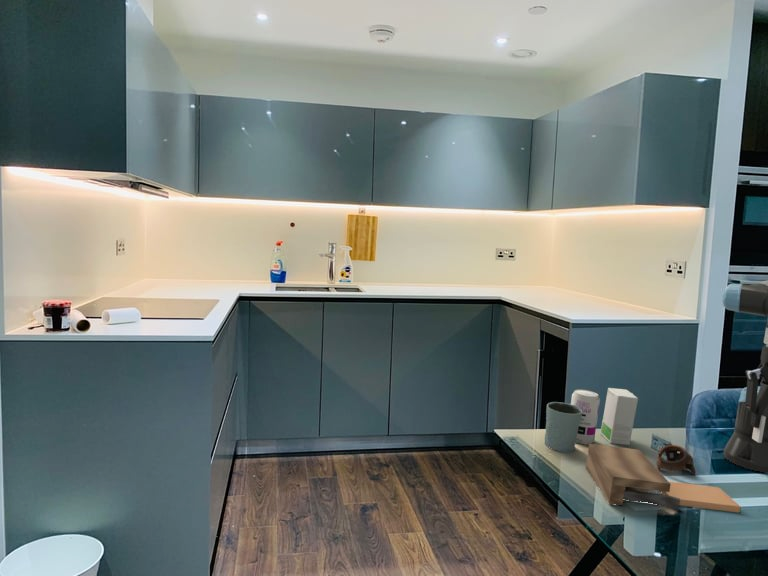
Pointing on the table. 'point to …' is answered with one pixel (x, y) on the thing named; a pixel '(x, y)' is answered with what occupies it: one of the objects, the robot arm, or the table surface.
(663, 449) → the broken clay pot
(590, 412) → the supplement can
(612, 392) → the skincare box
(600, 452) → the walnut shelf
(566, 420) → the grey cylindrical pot
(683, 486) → the terracotta panel
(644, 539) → the table surface
